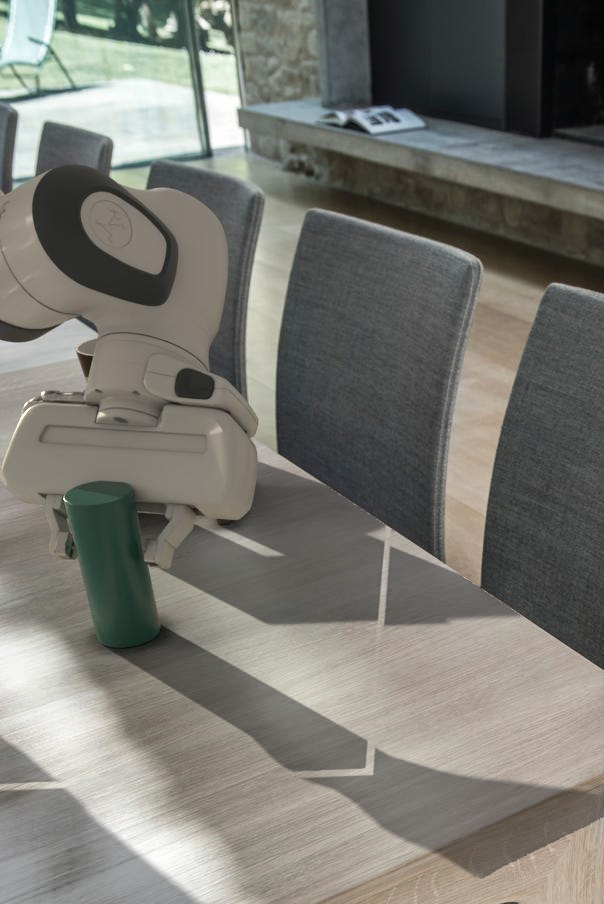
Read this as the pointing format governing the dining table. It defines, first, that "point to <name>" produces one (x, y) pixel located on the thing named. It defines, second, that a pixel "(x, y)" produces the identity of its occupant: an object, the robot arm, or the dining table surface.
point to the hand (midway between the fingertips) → (108, 561)
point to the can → (113, 562)
